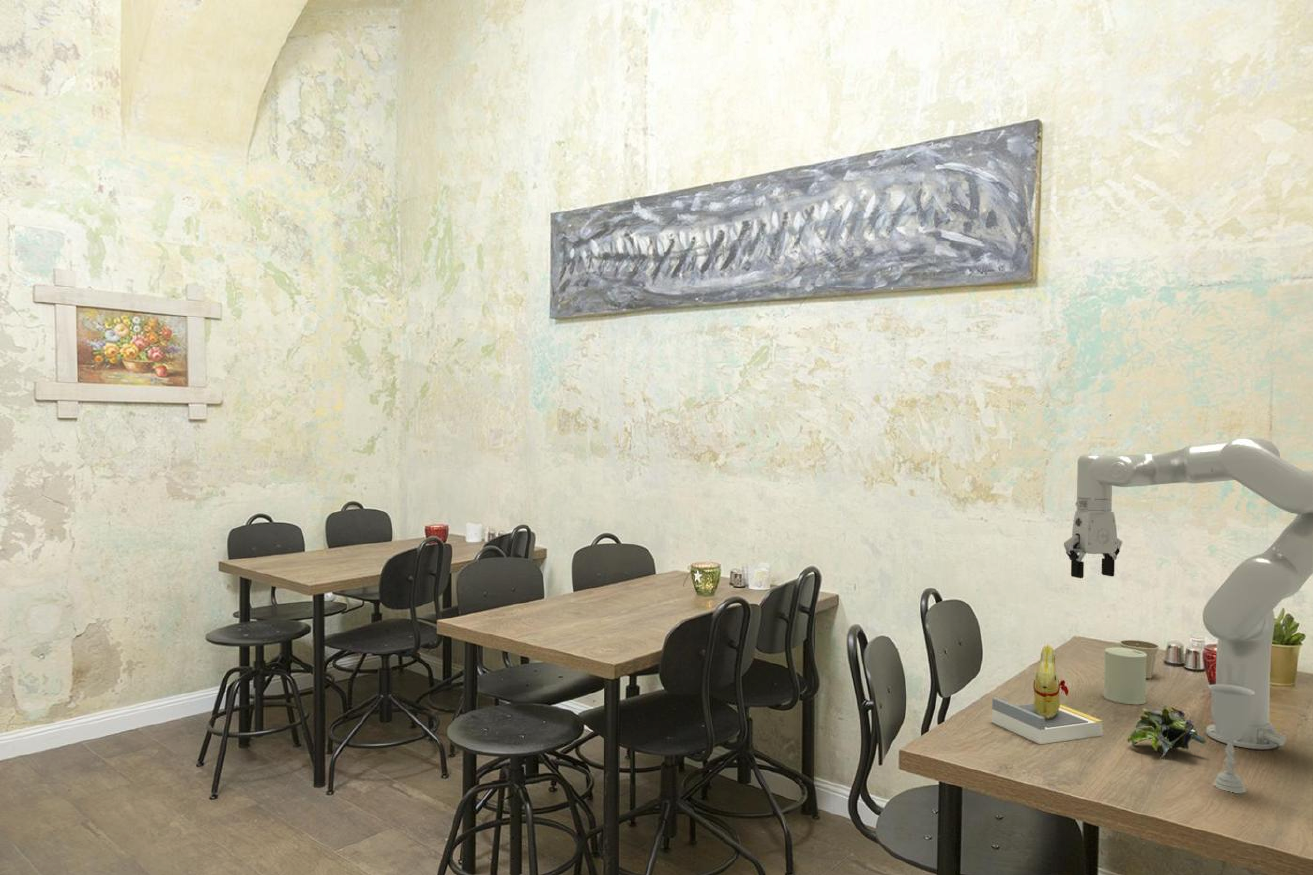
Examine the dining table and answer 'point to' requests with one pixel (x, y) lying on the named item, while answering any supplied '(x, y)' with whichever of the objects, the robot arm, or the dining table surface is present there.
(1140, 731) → the leafy plant
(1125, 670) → the can
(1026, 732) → the dock
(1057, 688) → the chocolate bunny
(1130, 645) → the flower pot
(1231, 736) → the chalice
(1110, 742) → the dining table surface
